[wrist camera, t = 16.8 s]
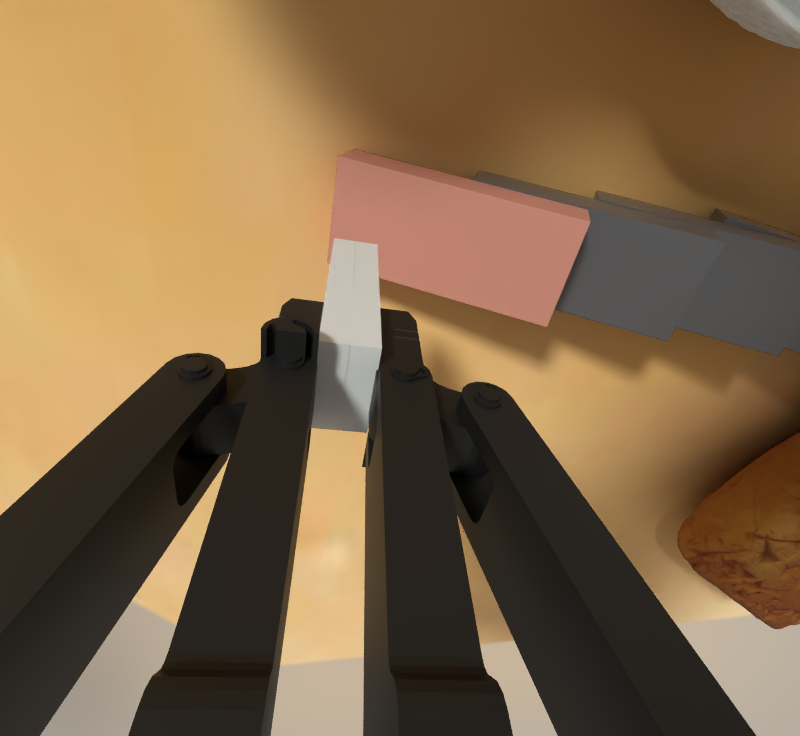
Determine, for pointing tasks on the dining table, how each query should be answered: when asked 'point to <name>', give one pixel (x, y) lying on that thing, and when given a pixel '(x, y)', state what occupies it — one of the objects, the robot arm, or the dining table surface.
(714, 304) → the domino
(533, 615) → the robot arm
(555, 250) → the domino
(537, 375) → the dining table surface
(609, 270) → the domino
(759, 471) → the inscribed clay slab
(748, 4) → the cereal bowl
